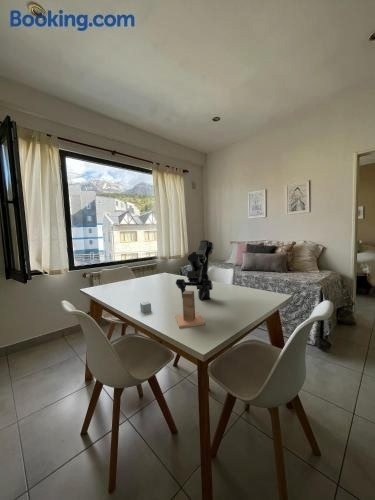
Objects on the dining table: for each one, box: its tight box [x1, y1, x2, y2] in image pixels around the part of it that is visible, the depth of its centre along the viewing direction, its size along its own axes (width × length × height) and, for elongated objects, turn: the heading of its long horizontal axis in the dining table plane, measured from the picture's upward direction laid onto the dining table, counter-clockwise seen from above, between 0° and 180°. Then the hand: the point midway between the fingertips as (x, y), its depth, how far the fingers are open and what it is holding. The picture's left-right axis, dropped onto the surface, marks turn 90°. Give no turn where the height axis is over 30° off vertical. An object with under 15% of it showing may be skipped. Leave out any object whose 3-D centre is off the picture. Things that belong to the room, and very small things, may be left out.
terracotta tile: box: [174, 312, 206, 329], centre depth 98 cm, size 12×12×1 cm
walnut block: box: [181, 290, 196, 321], centre depth 97 cm, size 4×4×13 cm
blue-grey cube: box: [139, 300, 152, 314], centre depth 112 cm, size 4×4×4 cm
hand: (191, 299), depth 102 cm, fingers open, 9 cm apart
